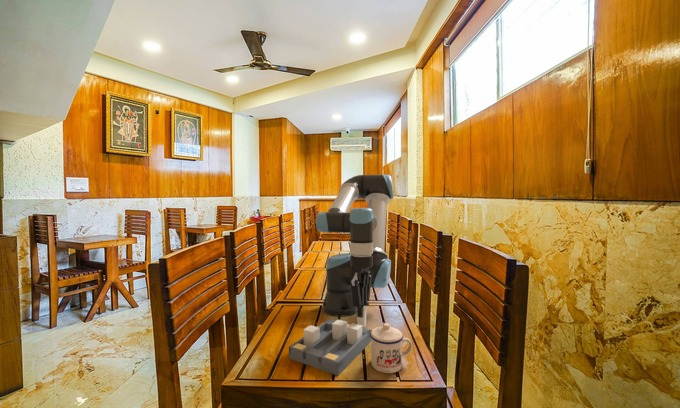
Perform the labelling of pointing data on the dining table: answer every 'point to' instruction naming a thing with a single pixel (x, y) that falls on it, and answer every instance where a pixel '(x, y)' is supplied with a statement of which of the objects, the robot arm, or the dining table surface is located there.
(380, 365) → the teacup with lid
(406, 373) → the dining table surface
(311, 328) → the tab
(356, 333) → the tab
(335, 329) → the tab
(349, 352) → the switch bank
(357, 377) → the dining table surface
